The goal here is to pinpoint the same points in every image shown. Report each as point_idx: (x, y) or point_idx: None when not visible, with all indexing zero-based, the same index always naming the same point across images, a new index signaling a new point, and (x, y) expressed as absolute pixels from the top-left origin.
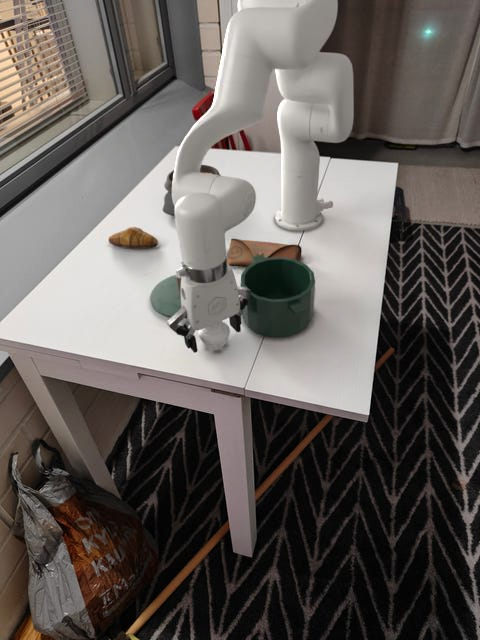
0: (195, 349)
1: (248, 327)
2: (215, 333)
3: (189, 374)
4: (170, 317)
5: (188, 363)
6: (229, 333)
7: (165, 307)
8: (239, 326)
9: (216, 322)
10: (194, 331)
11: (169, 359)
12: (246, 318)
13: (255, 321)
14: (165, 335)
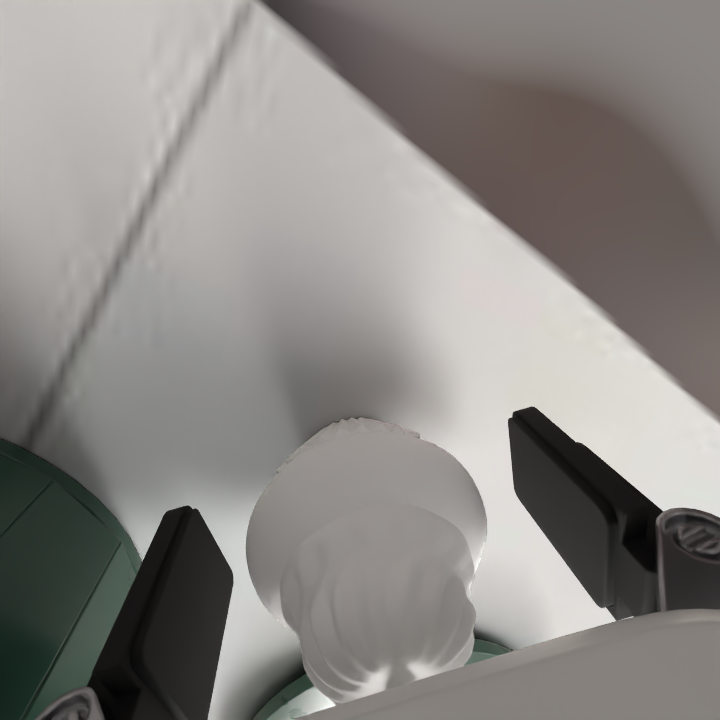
0: (539, 422)
1: (126, 534)
2: (389, 522)
3: (567, 284)
4: (505, 648)
5: (537, 368)
6: (256, 505)
7: None
8: (154, 554)
9: (438, 713)
10: (670, 586)
11: (606, 422)
12: (104, 605)
13: (3, 578)
14: (554, 561)
